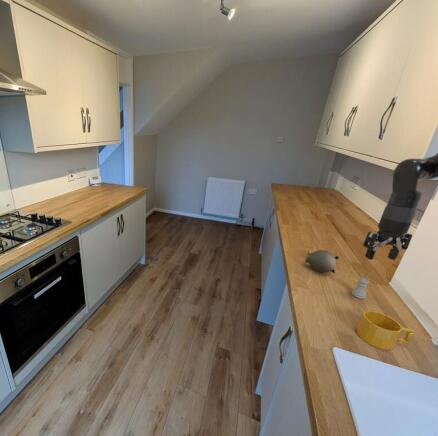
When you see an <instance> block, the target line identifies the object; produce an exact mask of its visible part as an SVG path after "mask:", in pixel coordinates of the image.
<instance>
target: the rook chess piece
mask: <svg viewBox="0 0 438 436" xmlns="http://www.w3.org/2000/svg"><path fill="white" fill-rule="evenodd" d="M369 284H370V279H368V278H367V277H363V276H362V277H360V278H358V282H357V286H356V287H355V288H354V289H352V291H351V295H352V296H353V297H355V298H357V299H361V300H364V299H366V298H367V292H366V289H367V287H368V285H369Z"/></svg>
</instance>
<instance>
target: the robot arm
mask: <svg viewBox="0 0 438 436" xmlns="http://www.w3.org/2000/svg"><path fill="white" fill-rule="evenodd" d="M437 178H438V152H437V153H436V154H435V155H432V156H429V157H425V158H407V159H404V160H401V162H399V163H398V164H397V165H396V167H395V168H394V170H393V174H392V184H391V185H392V187H391V188H392V191H391V193H390V196H389V199H388V202H387V204H386V205H385V207H384V209H383V212H382V215H381V217H380V219H379V221H378V225H377V228H378V231H377V232H373V231H370V230H369V231H368V233H367V235H366V237H365V239H364V241H363V243H362V246H363V247H364V248H366V252H365V254H364V255H365V256H364V257H365V258H366V259H367V260H371V261H372V260H373V259H374V257H375V254H376V251H377V250H378V249H379V248H383V247H384V246H391V248H390V250H389V252H388V255H387V259H389V260H392V261H395V260H396V259H397V258H398V256H399V253H400V252H402V251H403V250H408V248H409V246H410V243H411V240H412V238H413V234H411V233H409V230H410V227H411V225H412V223H413V220H414V218H415V216H416V213H417V209H418V206H419V204H420V202H421V200H422V198H423V197H422V196H423V191H422V190H420V189H419V188H418V183H419V182H422V181H429V180H434V179H437Z"/></svg>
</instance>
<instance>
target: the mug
mask: <svg viewBox="0 0 438 436" xmlns="http://www.w3.org/2000/svg"><path fill="white" fill-rule="evenodd" d="M402 332H404V333H406V334H405V336H404V337H400V336H401V334H402ZM356 333H357V335H358V337H359V338H360V339H361V340H363V341H364V342H366V344H369V345H370V346H373V347H375V348H377V349H380V350H384V351H385V350H388V351H389V350H392V349H393V348H394V347H395V346H396V344H397V342H400V343H405V344H409V343H410V341H411V340H412V338H413V336H414V334H415V330H414V329H411V328H409V327H404V326H402V325H401V324H400V323H399V322H398V321H397V320H395V318H393V317H391V316H390V315H387V314H384V313H382V312H380V311H376V310H366V311H364V312H362V315H361V317H360V320H359V323H358V324H357V328H356Z"/></svg>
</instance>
